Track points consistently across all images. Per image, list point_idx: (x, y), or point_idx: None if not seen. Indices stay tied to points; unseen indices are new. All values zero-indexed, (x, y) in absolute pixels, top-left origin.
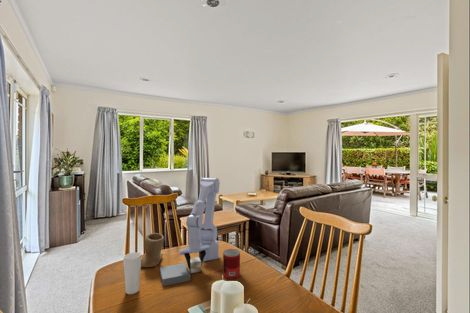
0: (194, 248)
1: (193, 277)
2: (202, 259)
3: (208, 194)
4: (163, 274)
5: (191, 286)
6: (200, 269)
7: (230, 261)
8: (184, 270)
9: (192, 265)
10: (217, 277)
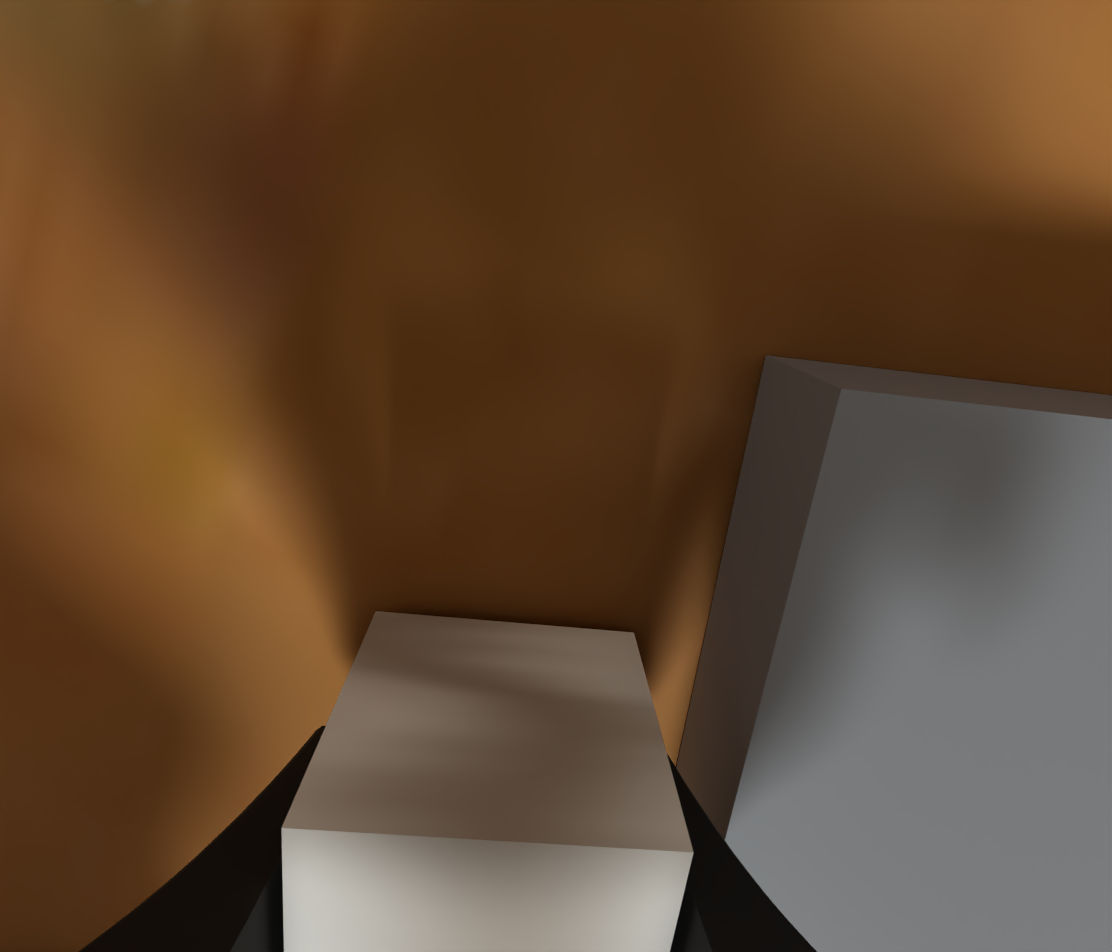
0: None
1: (637, 454)
2: (196, 891)
3: None
4: None
5: (873, 28)
6: (382, 640)
7: None
8: (881, 666)
9: (619, 764)
10: (24, 111)
